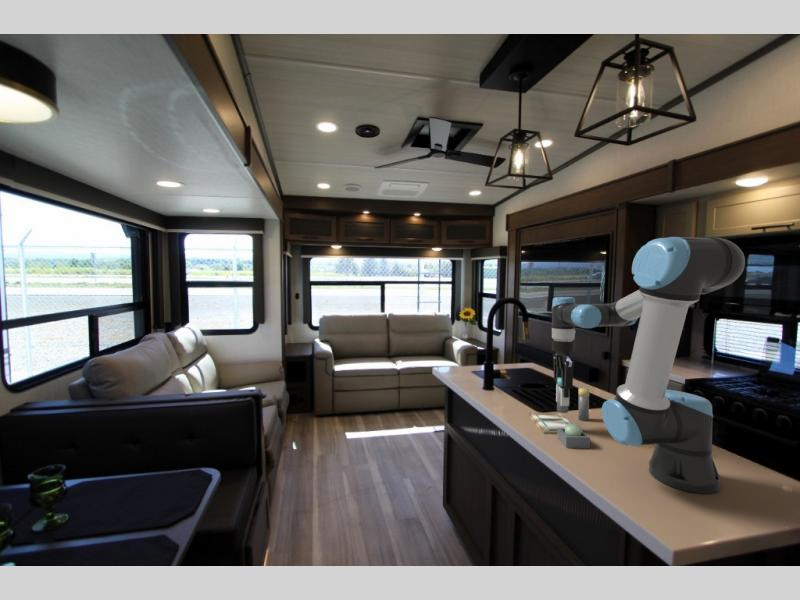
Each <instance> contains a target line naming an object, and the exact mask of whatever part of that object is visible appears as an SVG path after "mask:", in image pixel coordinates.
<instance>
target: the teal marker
mask: <svg viewBox="0 0 800 600" xmlns="http://www.w3.org/2000/svg"><path fill="white" fill-rule="evenodd" d="M560 386H562V377H558V378H557V402H556V411H557V412H559V413H560V414H567V413H569V406H561V388H560Z"/></svg>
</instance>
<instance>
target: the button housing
mask: <svg viewBox="0 0 800 600" xmlns="http://www.w3.org/2000/svg"><path fill="white" fill-rule="evenodd" d="M556 436H557V439H558V441H559V440H560V441H561V444H562V445H563V446H564V448H566V449H590V448H591V437H590V435H588V434H587V433H586V432H584V430H582V436H567V435H566V434H565V428H557V434H556ZM560 441H559V442H560Z"/></svg>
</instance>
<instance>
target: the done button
mask: <svg viewBox="0 0 800 600" xmlns="http://www.w3.org/2000/svg"><path fill="white" fill-rule="evenodd" d="M582 431H583V430H582V426H581V425H579V424H575V423H572V424H566V425H565V434H566V435H567V436H582Z"/></svg>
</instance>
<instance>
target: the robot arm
mask: <svg viewBox="0 0 800 600" xmlns="http://www.w3.org/2000/svg"><path fill="white" fill-rule="evenodd" d="M745 266H746V257H745V255H744V252H743V251H742V250H741V248H740V247H739V246H738V245H737V244H736V243H734V242H732V241H731V240H728V239H725V238H721V237H691V236H690V237H687V236H685V237H683V236H669V237H659V238H654V239H652V240H650V241H647V243H646V244H644V245H642V246H641V247H640V249H638V250H637V252H636V254H635V256H634V257H633V261H632V265H631V274H632V275H633V281H634V282H635V283H636V284H637V285H638V287H639V289H638V290H636V291H634V292H632V293H630V294H628V295H626V296H625V297H622V298H620V299H618V300H617V301H615V302H611V303H586V304H585V303H584V304H583V303H581V304H580V303H576V298H575V297H572V296H571V297H570V296H556V297H553V298H552V306H551V338H552V340H551V350H552V351H554V352H555V353H553V354H552V360H553V381H555V384H556V385H555V386H556V387H555V390H556V391H555V392H556V393H555V396H556V397H555V402H556V403H557V378H558V377H562V386H560V388H561V406H568V407H570V389H573V387H574V386H573V384H574V366H575V361H574V360H572V359H571V358H572V357H571V353H572V352H574V351H575V348H576V347H575V346H576V342H575V338H576V337H575V334H576V332H577V331H576V330H575V329H576V327H578V328H581V329H593V328H597V327H626V326H632V325H635V324H636V322H637V321H638V319H639V321H638V327H637V331H636V336H635V340H634V344H633V349H632V352H631V357H630V361H629V366H628V370H627V371H628V372H627V375H626V379H625V383H624V384H621V385H619V386H618V387H617V388H616V392H615V396H614V398H609V399H607V400H606V401H605V400H604V402H603V404H602V406H601V417H602V420H603V424H604V426H605V428H606V430H607V432H608V433H609V435H610V436H611V437H612V438H613V440H615V441H616V442H617V443H619V444H621V445H623V446H635V447H639V446H644V445H646V446H647V445H655V447H654V450H653V451H652V452H653V453H652V454H651V458H650V459H649V461H648V471H649V473H650V475H651V476H652V477H653V478H654V479H655V480H657V481H659V482H660V483H662V484H665V485H667V486H669V487H672V488H674V489H677V490H679V491H685V492H688V493H689V492H690V493H693V494H694V493H695V494H703V495H704V494H715V493H717V492H719V491H720V490H721V478H720V475H719V472H718V470H717V467H716V464H715V461H714V459H713V455H712V453H713V425H714V424H713V423H714V421H713V418H714V415H713V405H712V403H711V402H710V400H709V399H707V398H705V397H702V396H699V395H697V394H692V393H689V392H684V391H679V390H674V389H668V386H669V385H668V384H669V382H670V378H671V377H670V376H671V373H672V370H673V366H674V362H675V359H676V355H677V351H678V347H679V344H680V339H681V336H682V332H683V328H684V325H685V321H686V316H687V314H688V310H689V307H690V306H691V305H693V304H695V303H697V302H698V301H700V298H701V295H706V294H707V295H708V294H709V293H712V292H714V291H717V290H720V289H722V288H725V287H727V286H729V285H731V284H733V283H734V282H735V281H736V280H738V279H739V277H740V276H741V275H742V274H743V272H744V269H745Z"/></svg>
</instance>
